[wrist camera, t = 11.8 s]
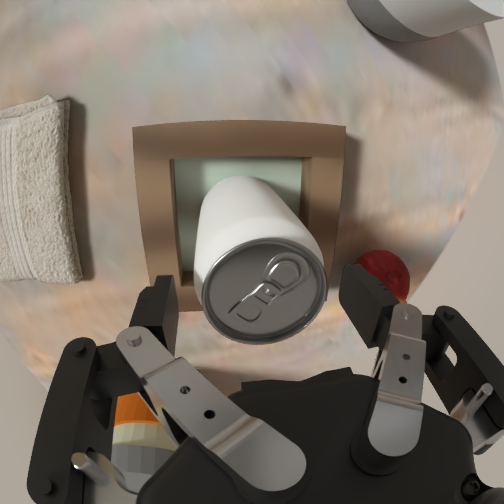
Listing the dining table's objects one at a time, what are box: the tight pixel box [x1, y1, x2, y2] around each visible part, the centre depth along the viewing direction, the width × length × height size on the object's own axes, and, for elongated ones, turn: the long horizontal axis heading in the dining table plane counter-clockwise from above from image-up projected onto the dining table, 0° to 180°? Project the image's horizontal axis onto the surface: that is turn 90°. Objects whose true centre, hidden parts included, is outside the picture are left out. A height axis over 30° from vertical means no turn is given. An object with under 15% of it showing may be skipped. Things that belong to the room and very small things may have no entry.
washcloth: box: [0, 94, 84, 284], centre depth 19 cm, size 12×18×3 cm, turn 176°
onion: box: [355, 250, 410, 303], centre depth 24 cm, size 6×6×8 cm
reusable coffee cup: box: [111, 393, 178, 495], centre depth 25 cm, size 13×13×15 cm
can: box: [194, 176, 327, 345], centre depth 18 cm, size 6×6×12 cm
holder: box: [132, 120, 346, 312], centre depth 22 cm, size 15×15×4 cm
